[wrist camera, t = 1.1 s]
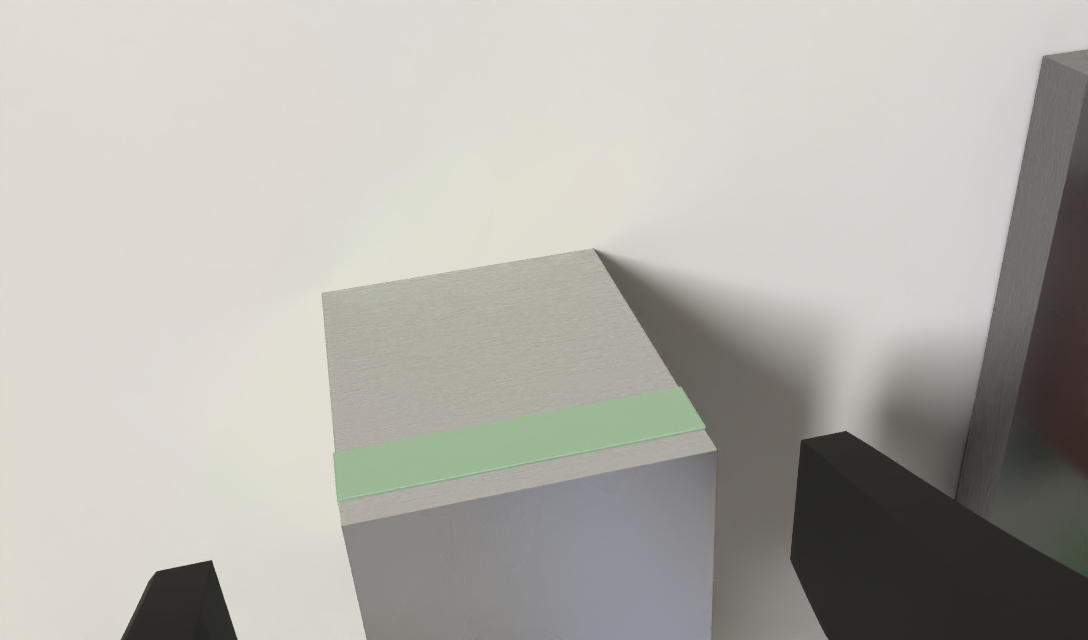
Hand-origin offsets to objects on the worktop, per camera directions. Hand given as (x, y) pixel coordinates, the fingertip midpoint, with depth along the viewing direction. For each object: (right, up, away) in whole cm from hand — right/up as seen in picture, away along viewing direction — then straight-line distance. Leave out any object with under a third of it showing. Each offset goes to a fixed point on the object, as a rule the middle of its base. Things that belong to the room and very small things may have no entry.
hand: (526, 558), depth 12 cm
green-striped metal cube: (-1, +2, +3) cm, 4 cm away
